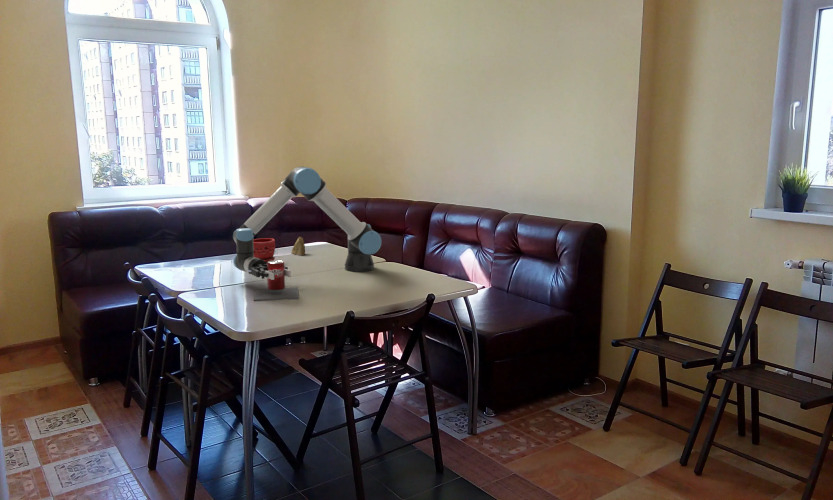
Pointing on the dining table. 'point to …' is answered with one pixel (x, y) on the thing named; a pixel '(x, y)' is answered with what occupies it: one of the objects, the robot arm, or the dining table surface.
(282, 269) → the soda can
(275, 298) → the mat
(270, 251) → the plant pot
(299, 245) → the rock
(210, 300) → the dining table surface
